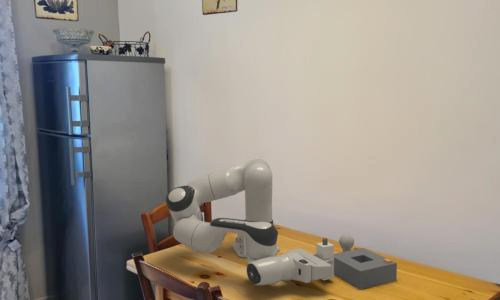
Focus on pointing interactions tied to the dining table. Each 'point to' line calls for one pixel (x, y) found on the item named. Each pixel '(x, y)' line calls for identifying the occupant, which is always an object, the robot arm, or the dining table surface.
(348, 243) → the light bulb
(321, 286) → the dining table surface
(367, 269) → the socket housing
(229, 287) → the dining table surface
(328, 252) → the plug
